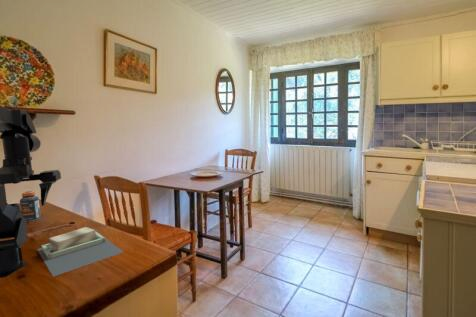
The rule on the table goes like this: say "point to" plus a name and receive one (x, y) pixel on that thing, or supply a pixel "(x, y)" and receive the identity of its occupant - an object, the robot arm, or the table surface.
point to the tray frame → (68, 250)
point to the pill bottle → (30, 206)
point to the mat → (79, 257)
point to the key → (49, 229)
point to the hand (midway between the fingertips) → (24, 207)
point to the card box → (72, 239)
